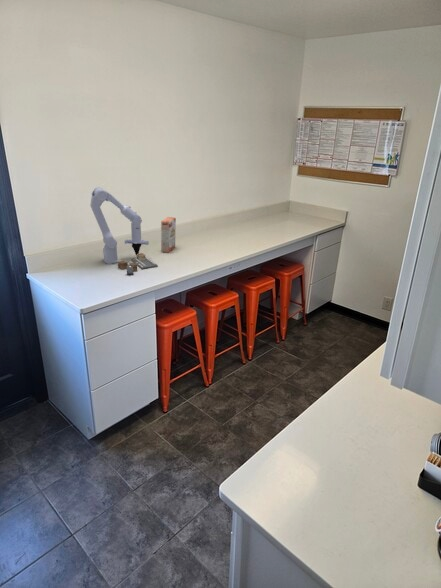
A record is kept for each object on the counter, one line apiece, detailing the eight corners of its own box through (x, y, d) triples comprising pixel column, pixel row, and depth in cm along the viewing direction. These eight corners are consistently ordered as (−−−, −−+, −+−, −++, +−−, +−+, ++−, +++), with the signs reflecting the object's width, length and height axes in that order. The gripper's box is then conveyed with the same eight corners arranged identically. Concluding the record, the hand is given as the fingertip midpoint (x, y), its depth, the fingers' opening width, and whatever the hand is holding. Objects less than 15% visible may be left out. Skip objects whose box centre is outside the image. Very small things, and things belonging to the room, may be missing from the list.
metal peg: (126, 273, 226) (125, 265, 224) (132, 272, 228) (131, 264, 226) (128, 275, 223) (127, 267, 221) (134, 274, 225) (134, 266, 223)
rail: (131, 261, 245) (131, 257, 244) (146, 258, 250) (146, 255, 249) (142, 269, 233) (142, 265, 232) (157, 266, 238) (157, 263, 237)
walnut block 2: (129, 269, 232) (129, 263, 231) (136, 269, 234) (136, 262, 232) (130, 271, 229) (130, 265, 227) (137, 271, 230) (137, 264, 229)
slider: (136, 259, 245) (136, 253, 244) (142, 258, 248) (142, 252, 246) (139, 261, 242) (139, 255, 241) (145, 260, 245) (145, 254, 243)
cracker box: (169, 253, 263) (169, 222, 254) (161, 252, 264) (160, 221, 255) (176, 247, 275) (176, 217, 267) (167, 246, 276) (167, 216, 268)
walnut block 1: (118, 268, 234) (117, 261, 232) (124, 266, 236) (123, 260, 235) (121, 269, 231) (121, 263, 230) (127, 268, 234) (127, 262, 232)
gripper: (122, 234, 240) (123, 256, 246) (146, 236, 240) (147, 257, 245) (126, 231, 247) (127, 252, 252) (149, 233, 246) (149, 254, 251)
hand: (137, 255), depth 249 cm, fingers closed
